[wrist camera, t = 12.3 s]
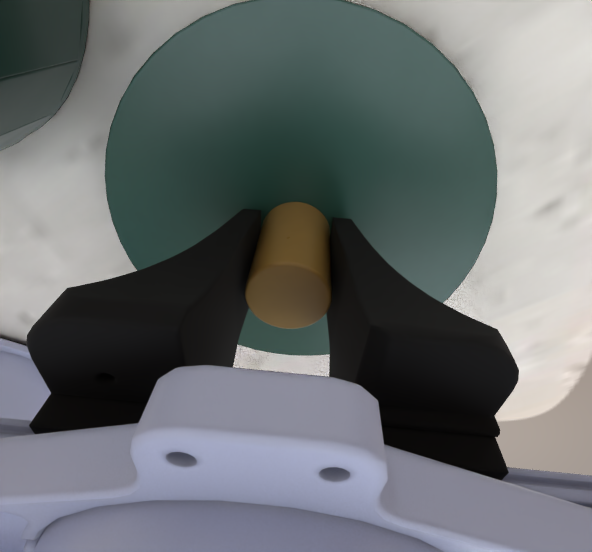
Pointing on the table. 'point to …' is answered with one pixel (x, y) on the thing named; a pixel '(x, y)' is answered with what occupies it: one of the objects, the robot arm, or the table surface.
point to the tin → (38, 61)
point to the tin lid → (303, 155)
